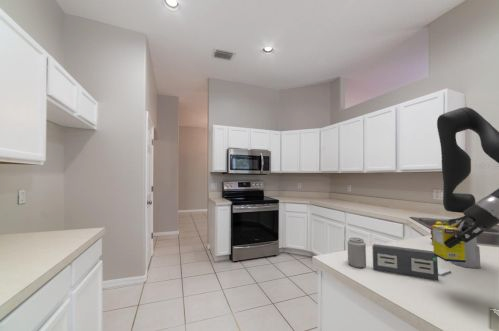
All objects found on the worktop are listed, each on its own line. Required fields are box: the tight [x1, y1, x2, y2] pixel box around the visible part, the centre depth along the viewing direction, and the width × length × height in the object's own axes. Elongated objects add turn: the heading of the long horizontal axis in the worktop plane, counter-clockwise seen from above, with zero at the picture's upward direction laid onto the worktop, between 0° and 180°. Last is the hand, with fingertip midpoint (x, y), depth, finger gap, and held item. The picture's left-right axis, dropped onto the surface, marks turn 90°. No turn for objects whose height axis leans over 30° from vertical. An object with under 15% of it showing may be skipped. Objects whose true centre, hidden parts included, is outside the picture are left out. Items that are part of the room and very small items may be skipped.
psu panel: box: [371, 243, 439, 282], centre depth 87 cm, size 22×4×11 cm, turn 65°
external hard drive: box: [438, 266, 452, 277], centre depth 92 cm, size 2×8×12 cm
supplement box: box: [431, 224, 466, 263], centre depth 71 cm, size 6×6×11 cm
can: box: [347, 236, 367, 269], centre depth 95 cm, size 8×8×12 cm
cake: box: [429, 220, 448, 246], centre depth 121 cm, size 10×10×15 cm
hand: (442, 242), depth 72 cm, fingers closed on supplement box, 7 cm apart
